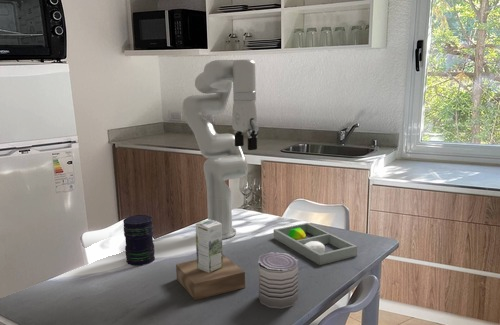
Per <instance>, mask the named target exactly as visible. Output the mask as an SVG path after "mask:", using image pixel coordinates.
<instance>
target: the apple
mask: <svg viewBox="0 0 500 325" xmlns="http://www.w3.org/2000/svg"><path fill="white" fill-rule="evenodd" d="M306 235H307V234H306V232H305V233H304V231H303V230H302V229H301V228H295V229H292V230H290V232H289V235H288V236H289V237H291V238H293V239H295V240H301V239H306V238H307V236H306Z"/></svg>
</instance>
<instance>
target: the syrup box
mask: <svg viewBox="0 0 500 325" xmlns="http://www.w3.org/2000/svg"><path fill="white" fill-rule="evenodd" d="M195 243H196V244H195V247H196V260H197V268H198V269H200V270H203V271H205V272H208V273H211V272H213V271H215V270H218V269H220V268H222V267H223V256H222V254H223V239H222V224H221V223H219V222H217V221H214V220H208V219H207V220H204V221H202V222H198V223H196V224H195Z"/></svg>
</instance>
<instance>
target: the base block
mask: <svg viewBox="0 0 500 325" xmlns="http://www.w3.org/2000/svg"><path fill="white" fill-rule="evenodd" d="M222 256H223V267H222V268H220V269H218V270H215V271H213V272H211V273H208V272H205V271H203V270H200V269H198V268H197V259H194V260H189V261H185V262H180V263H179V262H178V263H176V264H175V270H176V271H175V272H176V280H177V281H178V282H179V283H180V285H181V286H182V287H183V288H184V289H185V290H186V291H187V293H188V294H189V295H190V296H191V297H192V298H193V300H194V301H198V300H202V299H206V298H209V297H213V296H218V295H221V294H226V293H229V292H233V291H236V290H240V289H245V288H246V272H245V271H244V270H243V269H242V268H241V267H239V265H237V264H236V263H234V262H233V261H232V260H231V259H229V258H228V257H227V256H226V255H224V253H222Z"/></svg>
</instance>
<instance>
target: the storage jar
mask: <svg viewBox="0 0 500 325" xmlns="http://www.w3.org/2000/svg"><path fill="white" fill-rule="evenodd" d="M122 222H123V235H124V238H125V247H124V250H125V251H124V252H125V254H124V255H125V259H126V264H127V265H128V266H129V265H130V266H134V267H140V266H146V265H148V264H151V263H153V262H154V261H155V259H156V258H155V243H154V238H153V235H154V224H153V216H151V215H147V214H136V215H135V214H134V215H131V216H128V217H125V218H124V219H123V220H122Z"/></svg>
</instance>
